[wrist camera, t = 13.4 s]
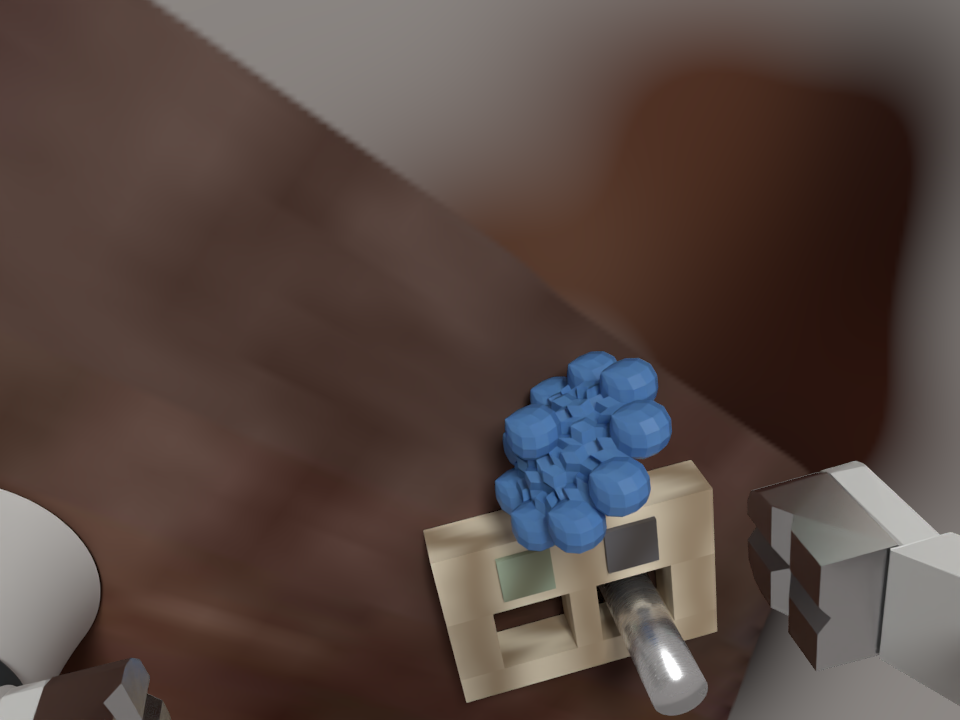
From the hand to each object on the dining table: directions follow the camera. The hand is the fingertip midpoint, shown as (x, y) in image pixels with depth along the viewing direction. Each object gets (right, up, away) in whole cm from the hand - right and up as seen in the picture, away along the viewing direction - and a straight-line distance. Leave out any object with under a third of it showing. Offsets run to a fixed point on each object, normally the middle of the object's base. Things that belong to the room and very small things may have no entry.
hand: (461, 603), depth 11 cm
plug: (+9, -11, +44) cm, 46 cm away
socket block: (+6, -10, +43) cm, 44 cm away
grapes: (+3, +2, +36) cm, 36 cm away
